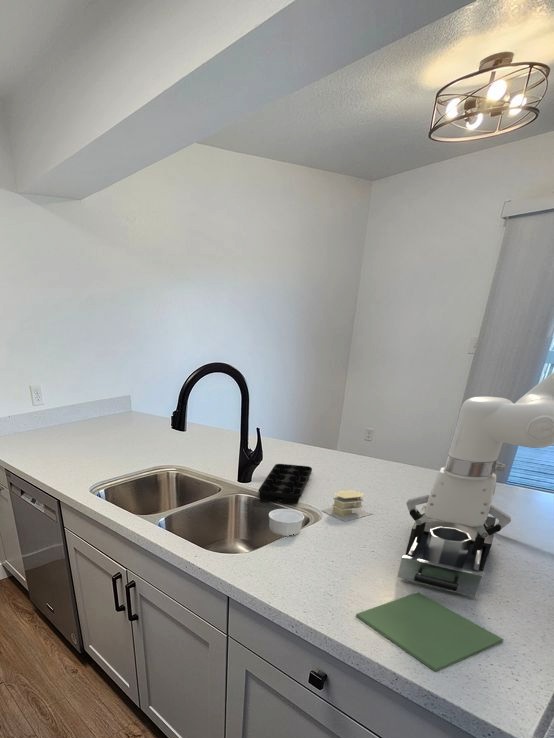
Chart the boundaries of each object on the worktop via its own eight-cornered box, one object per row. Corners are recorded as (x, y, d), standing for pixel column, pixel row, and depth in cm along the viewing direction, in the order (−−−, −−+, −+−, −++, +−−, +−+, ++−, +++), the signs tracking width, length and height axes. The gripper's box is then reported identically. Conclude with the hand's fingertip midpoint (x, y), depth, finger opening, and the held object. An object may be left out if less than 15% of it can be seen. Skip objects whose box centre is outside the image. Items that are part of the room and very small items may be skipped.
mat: (502, 642, 73) (503, 639, 73) (435, 671, 68) (436, 669, 68) (417, 594, 86) (418, 591, 86) (355, 616, 81) (356, 613, 81)
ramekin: (292, 521, 120) (294, 506, 118) (308, 535, 112) (310, 519, 110) (262, 525, 118) (263, 510, 116) (276, 539, 111) (277, 524, 109)
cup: (468, 569, 90) (478, 537, 86) (445, 577, 88) (454, 544, 84) (437, 555, 95) (446, 524, 92) (415, 562, 93) (422, 531, 90)
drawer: (473, 608, 80) (480, 586, 78) (392, 587, 87) (397, 566, 85) (480, 564, 93) (487, 545, 91) (410, 549, 101) (414, 530, 98)
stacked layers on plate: (345, 521, 118) (348, 502, 115) (321, 510, 125) (323, 492, 122) (372, 513, 121) (375, 495, 118) (347, 503, 128) (349, 486, 126)
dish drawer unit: (482, 571, 92) (492, 544, 89) (405, 554, 100) (411, 528, 97) (487, 542, 103) (496, 517, 100) (417, 529, 111) (423, 505, 108)
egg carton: (310, 474, 153) (311, 463, 152) (319, 506, 127) (320, 494, 126) (258, 473, 157) (259, 463, 156) (257, 504, 131) (258, 492, 130)
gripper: (528, 467, 79) (498, 549, 87) (420, 454, 89) (402, 529, 97) (528, 479, 74) (496, 565, 82) (413, 464, 84) (395, 542, 92)
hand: (445, 546), depth 89 cm, fingers open, 9 cm apart
